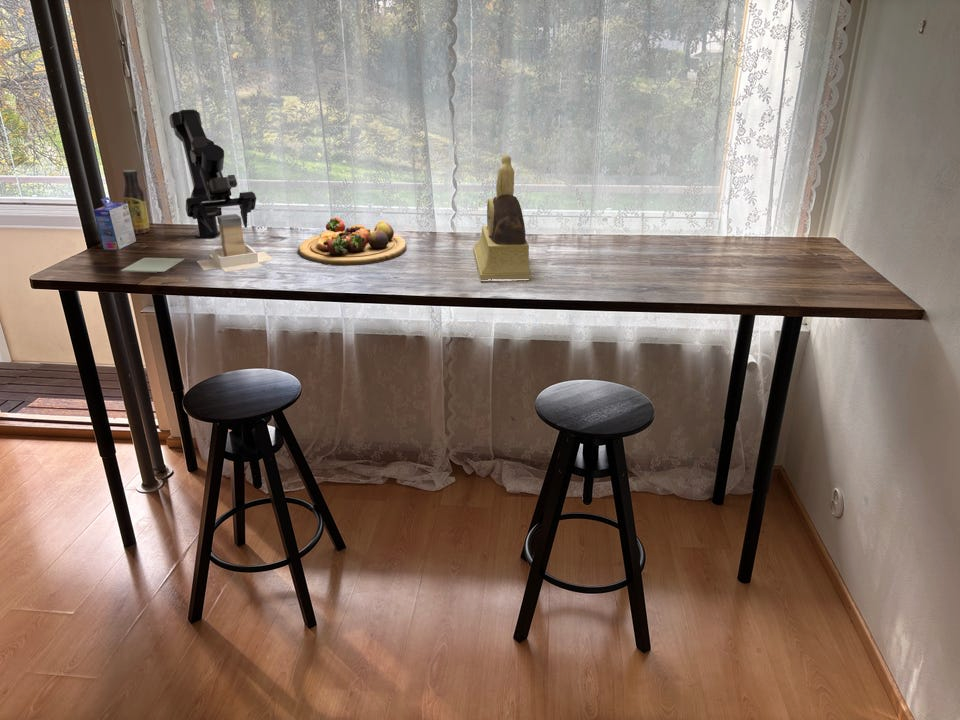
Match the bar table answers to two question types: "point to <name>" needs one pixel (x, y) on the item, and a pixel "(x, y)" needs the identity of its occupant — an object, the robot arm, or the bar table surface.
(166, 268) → the rubber pad
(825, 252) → the bar table surface
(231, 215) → the box
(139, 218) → the sauce bottle
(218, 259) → the carton
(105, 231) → the ink cartridge box
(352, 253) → the wooden plate with food
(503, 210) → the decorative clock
